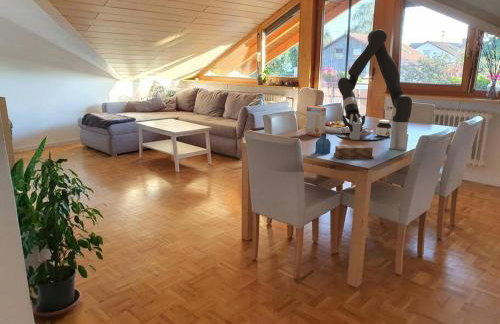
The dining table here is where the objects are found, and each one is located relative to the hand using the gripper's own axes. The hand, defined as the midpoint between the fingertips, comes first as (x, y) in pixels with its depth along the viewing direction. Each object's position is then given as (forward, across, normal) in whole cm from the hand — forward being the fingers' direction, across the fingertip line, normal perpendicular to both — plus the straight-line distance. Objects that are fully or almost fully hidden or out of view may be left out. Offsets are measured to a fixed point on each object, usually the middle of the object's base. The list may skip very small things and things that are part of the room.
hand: (356, 131), depth 218 cm
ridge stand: (+10, 0, +12) cm, 16 cm away
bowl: (-46, +17, +68) cm, 84 cm away
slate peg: (+2, 0, +5) cm, 5 cm away
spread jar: (-31, +42, +53) cm, 75 cm away
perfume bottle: (+2, -15, +20) cm, 25 cm away
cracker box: (-35, -7, +57) cm, 67 cm away
